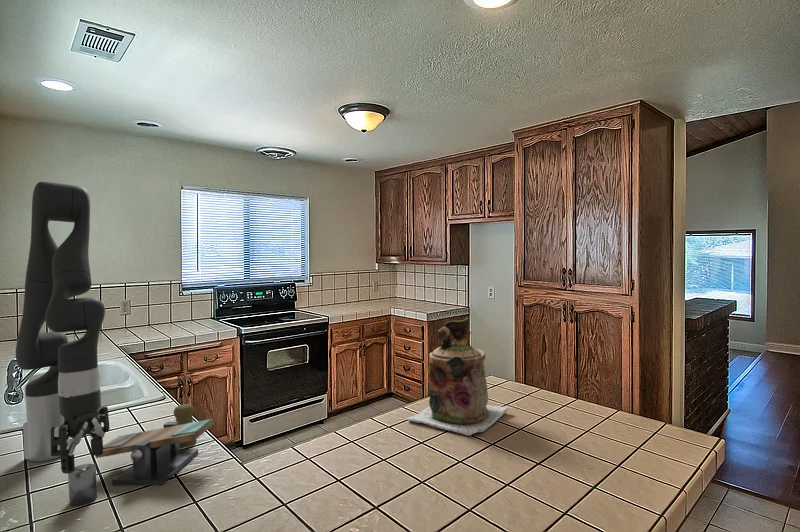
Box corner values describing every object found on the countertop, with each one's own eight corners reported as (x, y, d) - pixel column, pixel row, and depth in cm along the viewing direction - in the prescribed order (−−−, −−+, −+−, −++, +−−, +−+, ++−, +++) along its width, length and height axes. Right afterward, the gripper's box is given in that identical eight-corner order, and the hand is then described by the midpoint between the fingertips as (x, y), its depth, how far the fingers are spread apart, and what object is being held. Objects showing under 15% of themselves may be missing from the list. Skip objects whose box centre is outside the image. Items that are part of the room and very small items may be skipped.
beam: (95, 458, 111) (94, 450, 111) (122, 441, 121) (121, 434, 121) (195, 439, 109) (193, 432, 109) (214, 424, 119) (212, 417, 119)
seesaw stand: (111, 485, 107) (110, 447, 107) (155, 453, 124) (153, 420, 124) (161, 485, 106) (160, 447, 106) (198, 453, 124) (197, 420, 123)
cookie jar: (444, 401, 162) (442, 310, 162) (510, 413, 148) (509, 315, 147) (404, 422, 142) (402, 320, 142) (476, 440, 128) (474, 325, 127)
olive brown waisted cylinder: (187, 448, 127) (186, 409, 126) (168, 447, 128) (166, 408, 128) (201, 440, 133) (200, 402, 132) (182, 438, 134) (181, 401, 133)
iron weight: (63, 506, 98) (62, 474, 98) (80, 494, 103) (79, 463, 103) (86, 506, 98) (84, 474, 98) (102, 494, 103) (101, 463, 103)
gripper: (86, 381, 107) (90, 450, 108) (35, 400, 93) (39, 479, 93) (117, 380, 107) (121, 449, 107) (71, 399, 93) (75, 479, 93)
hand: (83, 463), depth 100 cm, fingers open, 8 cm apart
